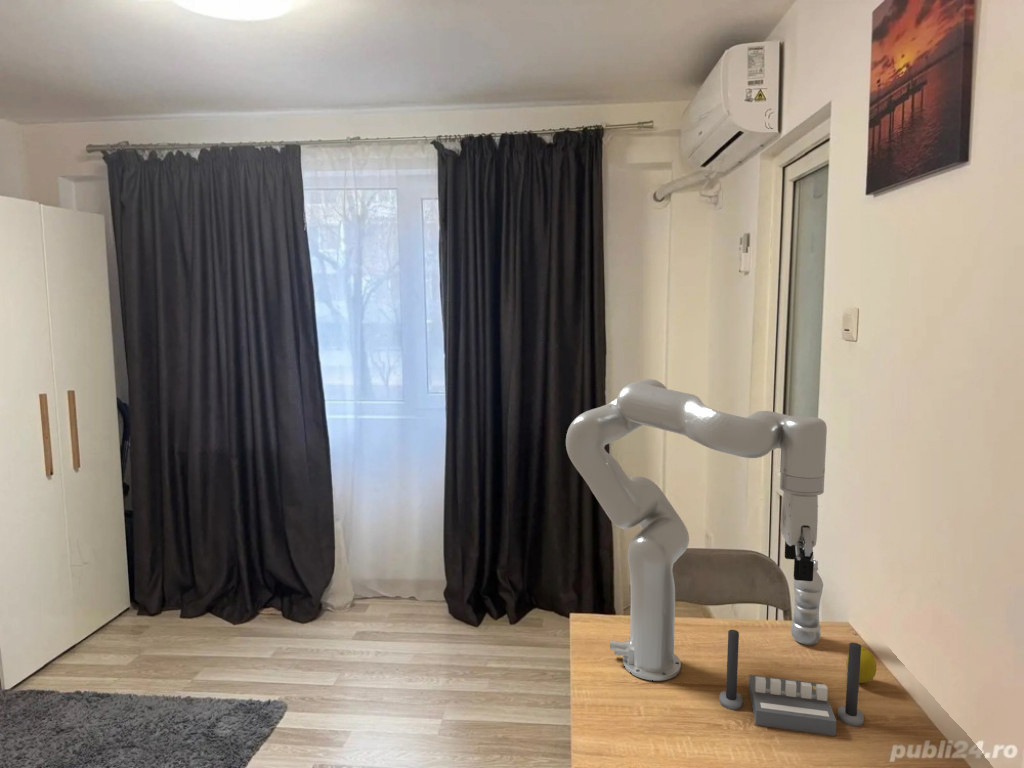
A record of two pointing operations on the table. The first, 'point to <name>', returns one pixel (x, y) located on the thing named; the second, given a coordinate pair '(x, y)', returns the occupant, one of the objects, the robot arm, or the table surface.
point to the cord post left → (732, 675)
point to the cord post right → (852, 689)
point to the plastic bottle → (807, 609)
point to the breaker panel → (791, 710)
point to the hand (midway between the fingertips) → (798, 569)
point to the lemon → (866, 666)
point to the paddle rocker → (791, 689)
